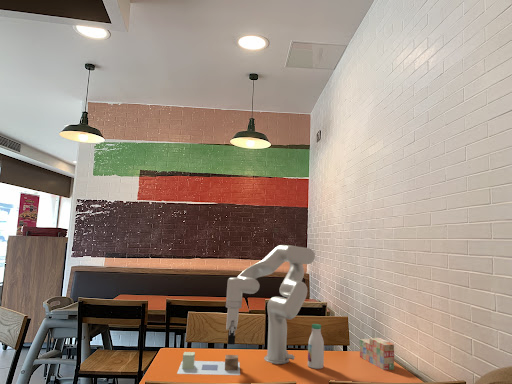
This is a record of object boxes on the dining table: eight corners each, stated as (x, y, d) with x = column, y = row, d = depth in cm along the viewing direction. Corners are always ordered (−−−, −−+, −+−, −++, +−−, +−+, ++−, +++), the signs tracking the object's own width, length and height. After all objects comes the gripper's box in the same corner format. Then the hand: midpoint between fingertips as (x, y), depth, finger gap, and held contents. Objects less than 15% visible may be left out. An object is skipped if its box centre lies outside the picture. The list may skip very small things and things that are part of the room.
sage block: (194, 365, 184) (194, 352, 184) (193, 368, 179) (193, 355, 179) (183, 365, 183) (184, 351, 184) (182, 368, 178) (183, 355, 179)
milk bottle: (325, 365, 193) (326, 324, 195) (321, 370, 186) (322, 327, 188) (310, 363, 196) (311, 322, 198) (305, 367, 189) (306, 325, 191)
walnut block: (237, 366, 185) (238, 355, 186) (237, 370, 179) (238, 359, 180) (224, 365, 185) (225, 354, 185) (224, 370, 179) (225, 358, 179)
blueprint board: (239, 363, 191) (239, 361, 191) (240, 376, 173) (240, 374, 173) (182, 361, 190) (182, 360, 190) (176, 375, 172) (176, 373, 172)
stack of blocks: (359, 357, 210) (359, 333, 212) (369, 356, 212) (369, 333, 213) (383, 370, 190) (383, 344, 191) (394, 369, 192) (394, 343, 193)
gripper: (226, 300, 194) (223, 336, 191) (225, 306, 176) (222, 345, 174) (241, 301, 194) (238, 337, 192) (242, 307, 177) (239, 346, 175)
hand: (231, 341), depth 183 cm, fingers open, 9 cm apart
